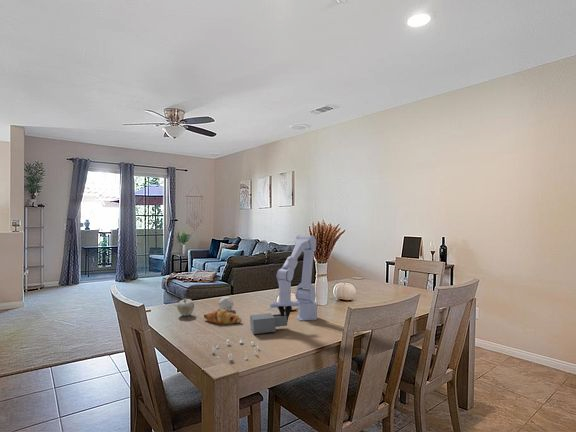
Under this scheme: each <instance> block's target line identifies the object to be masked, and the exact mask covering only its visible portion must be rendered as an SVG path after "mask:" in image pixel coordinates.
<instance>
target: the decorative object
mask: <svg viewBox="0 0 576 432" xmlns="http://www.w3.org/2000/svg"><path fill="white" fill-rule="evenodd" d="M194 310H195V303H194V301H193V300H192V299H191V298H186V297H184V298H183V299H181V300H180V301H178V303H177V311H178V314H180V315H181V316H183V317H189V316H190V315H192V313H193V312H194Z"/></svg>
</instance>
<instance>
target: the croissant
mask: <svg viewBox="0 0 576 432" xmlns="http://www.w3.org/2000/svg"><path fill="white" fill-rule="evenodd" d="M203 318H204V319H205V320H207V322H209V323H213V324H216V325H217V324H218V325H228V324H229V325H230V324H240V323H241V322H242V321H243V320H242V318H241V317H240V316H239V315H236V314H235V313H234V312H233V311H227V310H224V309H220V308H218V309H217V310H214V311H212V312H208V313H206V314H203Z"/></svg>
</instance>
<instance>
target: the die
mask: <svg viewBox="0 0 576 432" xmlns="http://www.w3.org/2000/svg"><path fill="white" fill-rule="evenodd" d="M217 304H218V307H219V309H224V310H227V311H228V312H232V309H233V307H234V305H235V304H234V301H233V299H232V296H222V297H221V298H220V300H219V302H218V303H217Z"/></svg>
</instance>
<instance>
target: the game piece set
mask: <svg viewBox="0 0 576 432" xmlns="http://www.w3.org/2000/svg"><path fill="white" fill-rule="evenodd" d="M230 342H231V340H230V339H226V345H227V346H230ZM239 344H244V339H243V337H241V338H240V339H239ZM256 344H257V346H255V342H254V341H253V340H252V341H250V344H249V345H250V346H251V347H252V346H254V347H253V349H254V352H253V353H252V356H258V355H259V353H258V352H257V350H258V351H259V349H260V347H259V341H256ZM216 349H220V346H219V345H218V343H217V344H216V346H214V345H213V346H211V349H210V350H211V354H214V353H215V350H216ZM244 350H245V349H244ZM245 352H247V349H246V350H245ZM215 357H216V359H218V360H219V359H220V356H218V355H217V354H215ZM227 357H228V361H230V362H231V361H232V359H233V354H232V353H229V354H228V355H227ZM248 358H249V357H248V356H245V357H244V360H245V361H246V360H249V359H248Z"/></svg>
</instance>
